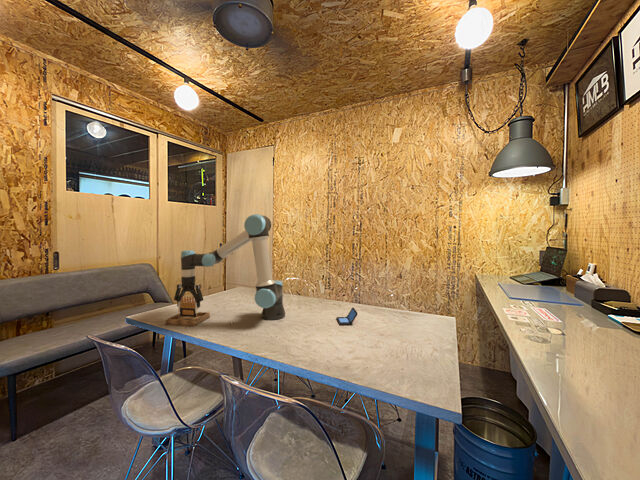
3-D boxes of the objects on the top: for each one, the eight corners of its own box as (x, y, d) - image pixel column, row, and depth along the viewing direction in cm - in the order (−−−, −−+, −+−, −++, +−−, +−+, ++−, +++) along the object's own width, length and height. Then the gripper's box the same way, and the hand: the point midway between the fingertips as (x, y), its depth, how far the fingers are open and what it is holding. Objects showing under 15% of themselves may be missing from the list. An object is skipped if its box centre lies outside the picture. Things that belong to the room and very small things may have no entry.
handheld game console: (336, 318, 163) (336, 307, 162) (353, 318, 164) (353, 306, 163) (339, 326, 150) (339, 313, 150) (357, 325, 151) (357, 313, 151)
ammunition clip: (198, 316, 157) (197, 296, 156) (196, 317, 155) (195, 297, 154) (182, 315, 158) (181, 295, 158) (179, 316, 156) (179, 296, 156)
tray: (209, 317, 163) (209, 312, 163) (194, 326, 147) (194, 321, 147) (183, 315, 166) (183, 311, 166) (165, 324, 150) (165, 319, 150)
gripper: (209, 275, 158) (209, 311, 159) (175, 274, 161) (175, 309, 162) (202, 277, 150) (202, 315, 151) (166, 276, 153) (167, 313, 154)
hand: (188, 312), depth 156 cm, fingers closed on ammunition clip, 10 cm apart
